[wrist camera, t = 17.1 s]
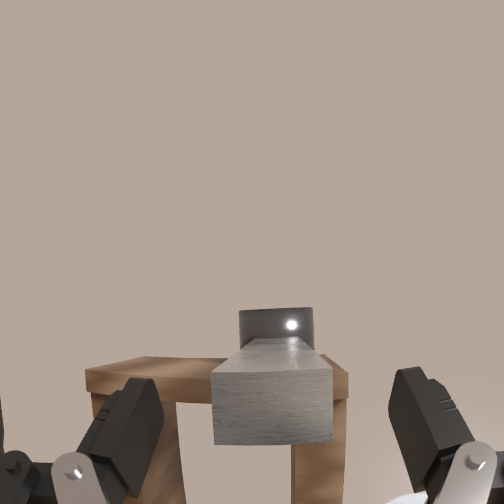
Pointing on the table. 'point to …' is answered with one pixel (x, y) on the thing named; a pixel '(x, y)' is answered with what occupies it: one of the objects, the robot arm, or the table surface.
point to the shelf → (199, 391)
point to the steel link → (273, 383)
